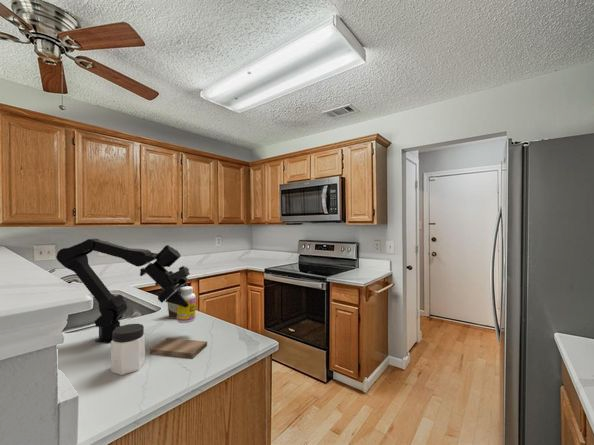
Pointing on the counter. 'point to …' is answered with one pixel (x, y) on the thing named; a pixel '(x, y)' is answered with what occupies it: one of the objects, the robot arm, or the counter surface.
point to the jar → (127, 349)
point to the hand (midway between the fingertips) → (190, 303)
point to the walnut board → (179, 347)
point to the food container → (172, 310)
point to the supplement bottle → (187, 312)
